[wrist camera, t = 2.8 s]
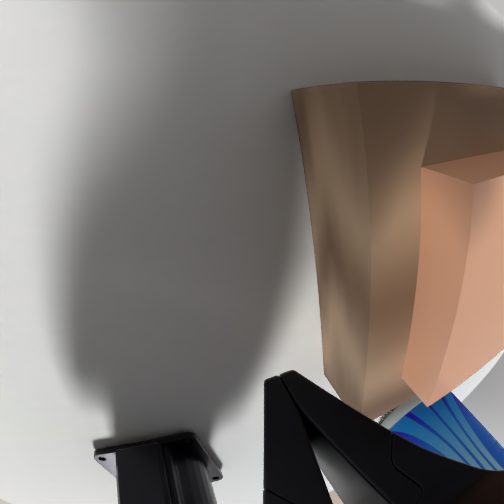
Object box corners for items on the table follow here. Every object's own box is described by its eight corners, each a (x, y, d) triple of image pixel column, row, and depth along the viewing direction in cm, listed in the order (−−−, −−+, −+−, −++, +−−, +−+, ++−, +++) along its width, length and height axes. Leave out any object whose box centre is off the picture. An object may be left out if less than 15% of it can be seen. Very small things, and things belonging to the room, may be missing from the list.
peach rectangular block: (484, 323, 13) (509, 343, 11) (401, 377, 12) (427, 407, 10) (512, 149, 9) (550, 161, 7) (420, 166, 8) (473, 184, 6)
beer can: (371, 413, 20) (483, 568, 6) (451, 364, 22) (564, 483, 8) (363, 457, 24) (442, 577, 10) (432, 416, 25) (515, 517, 11)
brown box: (485, 287, 19) (522, 314, 15) (324, 374, 16) (359, 426, 13) (498, 88, 12) (552, 97, 9) (291, 90, 10) (356, 82, 7)
